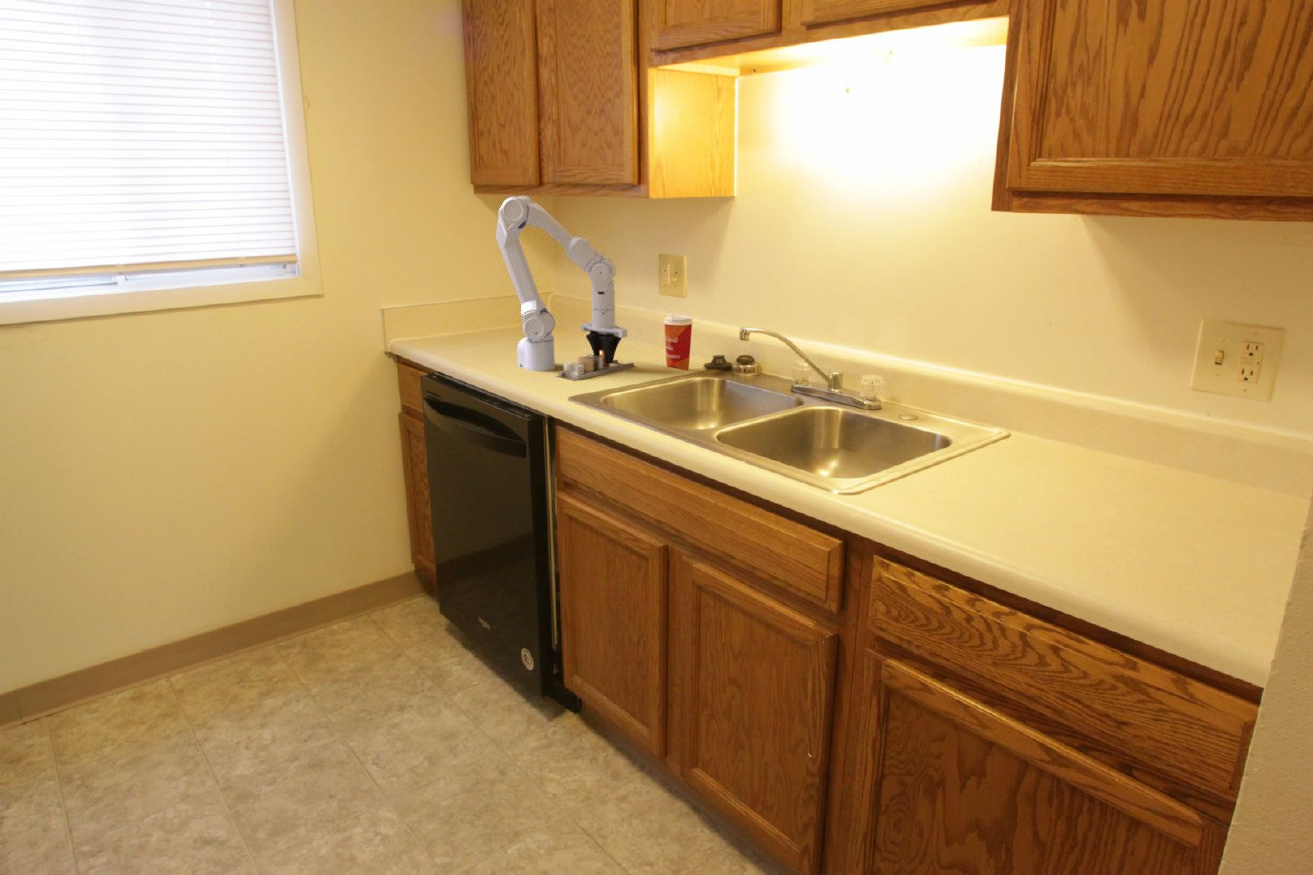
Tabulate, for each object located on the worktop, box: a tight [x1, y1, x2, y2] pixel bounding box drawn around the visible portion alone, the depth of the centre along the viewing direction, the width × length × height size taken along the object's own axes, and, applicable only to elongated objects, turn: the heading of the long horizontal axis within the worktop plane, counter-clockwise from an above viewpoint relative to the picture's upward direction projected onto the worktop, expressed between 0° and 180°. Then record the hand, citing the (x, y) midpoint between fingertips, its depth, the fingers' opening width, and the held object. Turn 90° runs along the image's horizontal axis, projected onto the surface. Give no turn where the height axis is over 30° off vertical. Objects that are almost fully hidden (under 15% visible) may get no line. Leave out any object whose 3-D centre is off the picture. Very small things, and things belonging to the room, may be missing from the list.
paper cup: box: [662, 315, 694, 372], centre depth 226 cm, size 8×8×14 cm
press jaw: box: [586, 349, 619, 371], centre depth 222 cm, size 4×7×5 cm, turn 138°
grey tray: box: [555, 359, 638, 382], centre depth 221 cm, size 7×22×4 cm, turn 138°
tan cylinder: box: [576, 356, 594, 373], centre depth 218 cm, size 4×4×4 cm
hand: (604, 362), depth 222 cm, fingers closed on press jaw, 3 cm apart
